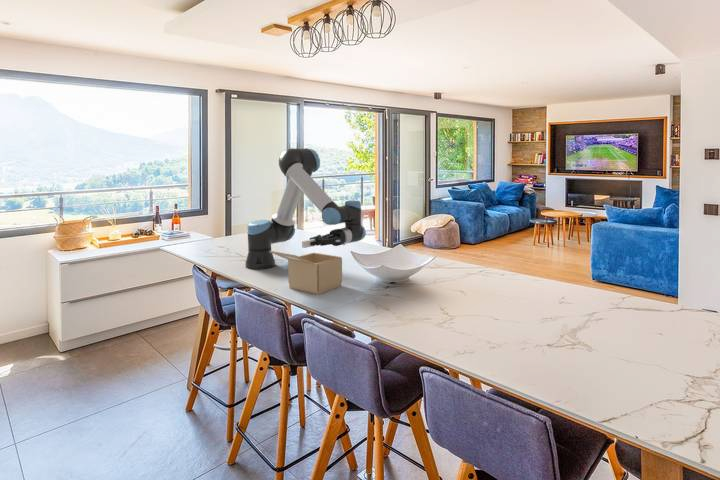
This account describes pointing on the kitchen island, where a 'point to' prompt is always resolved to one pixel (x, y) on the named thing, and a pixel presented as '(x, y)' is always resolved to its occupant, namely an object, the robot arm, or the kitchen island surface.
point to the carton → (315, 273)
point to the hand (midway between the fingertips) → (303, 244)
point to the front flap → (291, 257)
